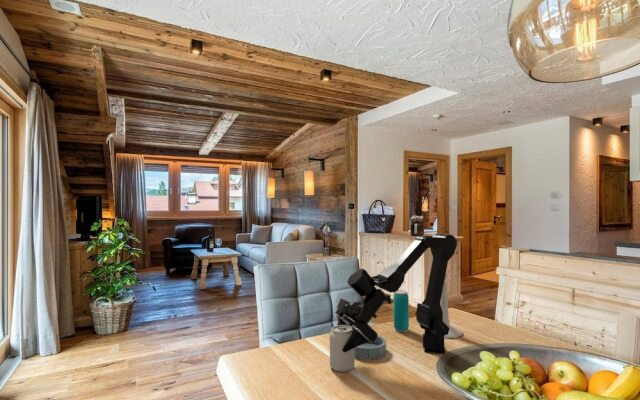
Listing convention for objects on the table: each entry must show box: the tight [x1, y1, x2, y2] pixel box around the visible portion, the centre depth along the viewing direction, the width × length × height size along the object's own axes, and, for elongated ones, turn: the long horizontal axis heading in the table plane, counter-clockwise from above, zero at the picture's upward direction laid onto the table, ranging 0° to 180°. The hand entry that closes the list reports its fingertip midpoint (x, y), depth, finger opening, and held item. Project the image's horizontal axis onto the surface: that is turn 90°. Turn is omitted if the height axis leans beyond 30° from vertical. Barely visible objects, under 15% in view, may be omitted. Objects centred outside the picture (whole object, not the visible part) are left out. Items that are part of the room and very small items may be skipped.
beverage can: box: [392, 289, 410, 333], centre depth 138 cm, size 6×6×15 cm
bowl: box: [354, 335, 387, 361], centre depth 118 cm, size 13×13×4 cm
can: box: [329, 324, 356, 373], centre depth 106 cm, size 8×8×12 cm
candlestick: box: [440, 271, 463, 339], centre depth 135 cm, size 13×13×30 cm
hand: (337, 346), depth 106 cm, fingers closed on can, 7 cm apart
